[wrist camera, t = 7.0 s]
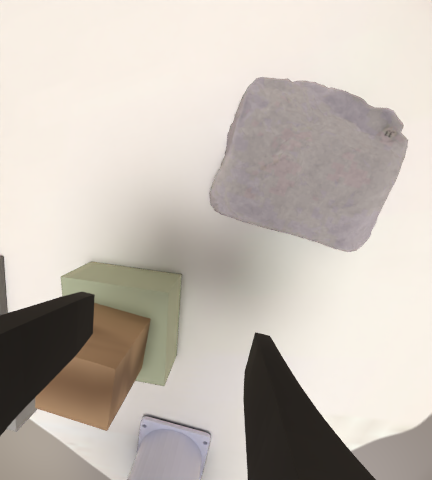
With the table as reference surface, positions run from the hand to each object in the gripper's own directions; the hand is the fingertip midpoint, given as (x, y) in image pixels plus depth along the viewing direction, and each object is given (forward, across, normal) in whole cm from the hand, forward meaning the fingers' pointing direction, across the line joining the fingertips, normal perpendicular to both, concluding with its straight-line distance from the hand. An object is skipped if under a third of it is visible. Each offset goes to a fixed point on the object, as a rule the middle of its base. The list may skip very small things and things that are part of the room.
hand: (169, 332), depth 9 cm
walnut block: (+7, +6, +7) cm, 12 cm away
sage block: (+11, +6, +7) cm, 14 cm away
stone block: (+11, -6, -9) cm, 15 cm away
